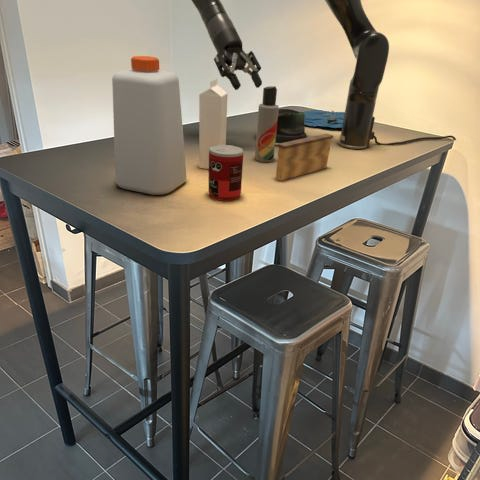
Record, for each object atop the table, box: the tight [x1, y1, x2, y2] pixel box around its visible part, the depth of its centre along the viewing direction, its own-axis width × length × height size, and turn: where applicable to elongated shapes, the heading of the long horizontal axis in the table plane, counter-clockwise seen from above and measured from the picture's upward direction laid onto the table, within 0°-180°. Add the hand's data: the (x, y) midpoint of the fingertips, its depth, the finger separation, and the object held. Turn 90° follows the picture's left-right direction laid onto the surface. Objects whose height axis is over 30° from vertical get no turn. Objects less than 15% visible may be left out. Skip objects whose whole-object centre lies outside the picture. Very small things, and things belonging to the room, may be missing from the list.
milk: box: [198, 78, 228, 170], centre depth 124 cm, size 6×6×22 cm
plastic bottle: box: [111, 55, 188, 196], centre depth 108 cm, size 15×15×28 cm
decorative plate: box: [300, 109, 345, 129], centre depth 183 cm, size 30×30×5 cm
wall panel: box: [275, 133, 334, 182], centre depth 127 cm, size 21×3×9 cm, turn 133°
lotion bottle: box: [254, 85, 280, 163], centre depth 132 cm, size 6×6×20 cm
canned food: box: [208, 144, 244, 202], centre depth 109 cm, size 8×8×11 cm
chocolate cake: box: [275, 108, 309, 146], centre depth 157 cm, size 15×19×20 cm
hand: (249, 86), depth 132 cm, fingers open, 8 cm apart
